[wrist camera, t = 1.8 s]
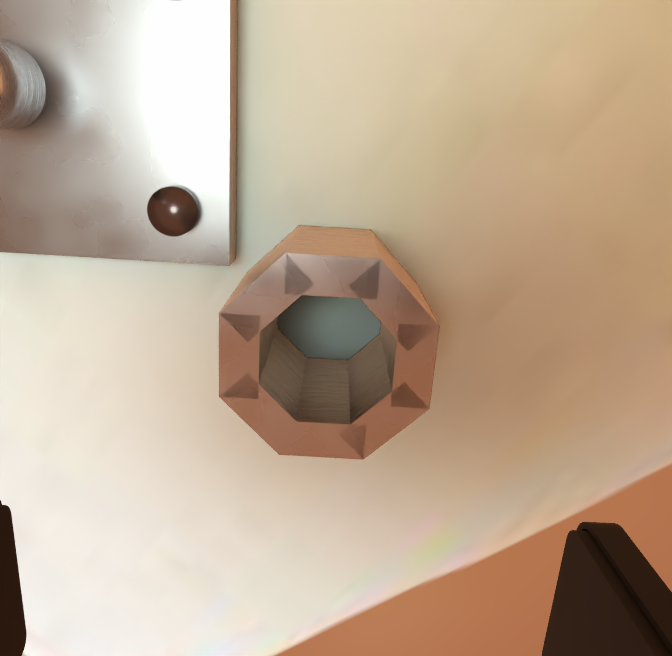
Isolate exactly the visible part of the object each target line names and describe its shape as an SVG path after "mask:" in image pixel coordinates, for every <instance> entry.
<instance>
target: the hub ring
mask: <svg viewBox="0 0 672 656" xmlns="http://www.w3.org/2000/svg"><path fill="white" fill-rule="evenodd" d="M301 295H309V296H326V297H343V298H359V299H361V300H362V301H363V303H364V304H365V305H366V306H367V307H368V308H369V309H370V310H371V311H372V313H373V314H374V315H375V316H376V317H377V318H378V319H379V320H380V321H381V327H380V334H379V335H378V336H377V337H375V338H374V339H373V340H372V341H370V342H369V343H368V344H367V345H366V346H364V347H363V348H362V349H361V350H359V351H358V352H357V353H356V354H355V355H353V356H352V357H351V358H350V359H349V360H339V359H322V358H306V357H305V356H304V355H303V354H302V353H301V352H300V351H299V350H298V349H297V348H296V347H295V345H294V344H293V343H292V342H291V341H290V340H289V339H288V338H287V337H286V336H285V335H284V334H283V333H282V332H281V331H280V330H279V329H278V328H277V323H278V315H279V314H281V313H282V312H283V311H284V310H285V309H286V308H287V307H289V306H290V305H291V304H292V303H293V302H294V301H296V300H297V299H298V298H299V297H300V296H301ZM438 334H439V324H438V323H437V321H436V319H435V317H434V315H433V313H432V311H431V310H430V308H429V306H428V304H427V302H426V300H425V298H424V296H423V295H422V293H421V291H420V289H419V287H418V285H417V283H416V282H415V281H414V279H413V278H412V277H411V276H410V275H409V274H408V272H407V271H406V270H405V269H404V268H403V267H402V266H401V264H400V263H399V262H398V261H397V260H396V259H395V257H394V256H393V255H392V254H391V253H390V252H389V250H388V249H387V248H386V247H385V246H384V245H383V244H382V242H381V241H380V240H379V239H378V238H377V237H376V235H375V234H374V233H373V232H372V231H371V230H367V229H351V228H335V227H319V226H302V225H299V226H298V227H297V228H296V229H294V230H293V231H292V232H291V233H290V234H289V235H288V236H287V237H286V238H285V239H283V240H282V241H281V242H280V243H279V244H278V245H277V246H276V247H275V248H273V249H272V250H271V251H270V252H269V253H268V254H267V255H266V256H265V257H264V258H262V259H261V260H260V261H259V262H258V263H257V264H256V265H255V266H254V267H253V268H251V269H250V270H249V271H248V272H247V274H246V275H245V276H244V278H243V279H242V281H241V282H240V284H239V285H238V287H237V288H236V289H235V291H234V292H233V294H232V295H231V297H230V298H229V299H228V301H227V302H226V304H225V305H224V307H223V308H222V310H221V311H220V312H219V397H220V398H221V399H222V400H223V401H224V402H225V403H226V404H227V405H228V406H229V407H230V408H231V409H232V410H234V411H235V412H236V413H237V414H238V415H239V416H240V417H241V418H242V419H243V420H244V421H245V422H246V423H247V424H248V425H249V426H250V427H251V428H252V429H253V430H254V431H255V432H256V433H257V434H258V435H259V436H260V437H261V438H262V439H264V440H265V441H266V442H267V443H268V444H269V445H270V446H271V447H272V448H273V449H274V450H275V451H276V452H277V453H278V454H279V455H295V456H313V457H331V458H348V459H364V458H366V457H367V456H368V455H370V454H371V453H372V452H374V451H375V450H376V449H378V448H379V447H380V446H381V445H383V444H384V443H385V442H387V441H388V440H389V439H391V438H392V437H393V436H394V435H396V434H397V433H398V432H400V431H401V430H402V429H404V428H405V427H406V426H408V425H409V424H410V423H411V422H413V421H414V420H415V419H417V418H418V417H419V416H421V415H422V414H423V413H424V412H426V411H427V410H428V409H429V407H430V399H431V391H432V383H433V375H434V366H435V358H436V350H437V342H438Z"/></svg>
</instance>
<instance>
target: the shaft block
mask: <svg viewBox="0 0 672 656" xmlns="http://www.w3.org/2000/svg"><path fill="white" fill-rule="evenodd" d="M236 141H237V0H0V252H12V253H29V254H45V255H62V256H79V257H95V258H112V259H128V260H145V261H161V262H178V263H194V264H211V265H227V266H229V265H230V264H231V263H232V262H233V261H234V259H235V258H236Z"/></svg>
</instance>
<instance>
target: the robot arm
mask: <svg viewBox="0 0 672 656" xmlns="http://www.w3.org/2000/svg"><path fill="white" fill-rule="evenodd" d="M25 643H26V626H25V618H24V610H23V603H22V595H21V587H20V579H19V571H18V563H17V556H16V548H15V540H14V532H13V524H12V516H11V511H10V508H9V507H8V506H6V505H2V504H1V501H0V656H22V653H23V650H24V647H25ZM542 656H672V592H671V591H670V590H669V588H668V587H667V586H666V585H665V583H664V582H663V581H662V579H661V578H660V577H659V575H658V574H657V573H656V571H655V570H654V569H653V567H652V566H651V565H650V564H649V562H648V561H647V560H646V558H645V557H644V556H643V554H642V553H641V552H640V550H639V549H638V548H637V547H636V545H635V544H634V543H633V542H632V540H631V539H630V537H629V536H628V535H627V533H626V532H625V531H624V530H623V528H622V527H621V526H619V525H618V524H615V523H596V522H582V523H580V525H579V526H578V528H577V530H572V531H570V532H569V533H568V536H567V539H566V544H565V548H564V553H563V557H562V562H561V567H560V572H559V576H558V581H557V586H556V590H555V595H554V600H553V605H552V609H551V613H550V618H549V623H548V627H547V632H546V637H545V641H544V647H543V651H542Z"/></svg>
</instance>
